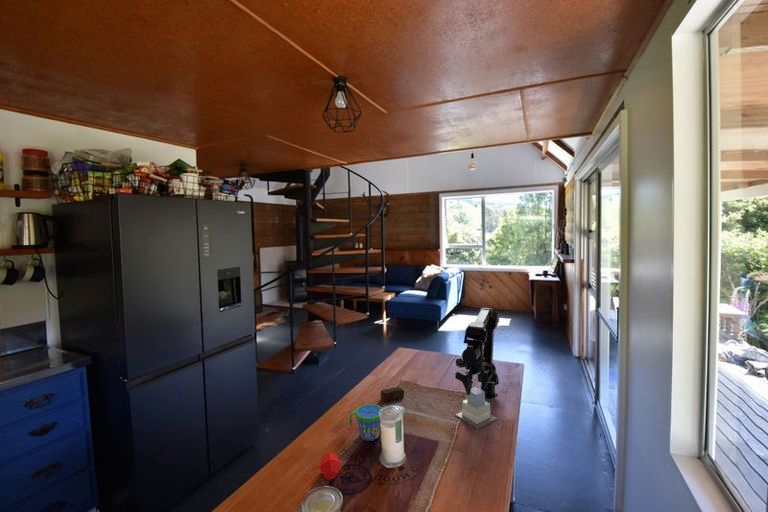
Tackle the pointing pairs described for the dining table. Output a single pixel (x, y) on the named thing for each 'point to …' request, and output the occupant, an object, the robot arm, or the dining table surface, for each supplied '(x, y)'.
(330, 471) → the red rounded lump
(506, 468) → the dining table surface
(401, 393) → the brick
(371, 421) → the snack cup
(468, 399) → the top block
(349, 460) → the dining table surface
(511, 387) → the dining table surface
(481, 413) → the pale block on slab
